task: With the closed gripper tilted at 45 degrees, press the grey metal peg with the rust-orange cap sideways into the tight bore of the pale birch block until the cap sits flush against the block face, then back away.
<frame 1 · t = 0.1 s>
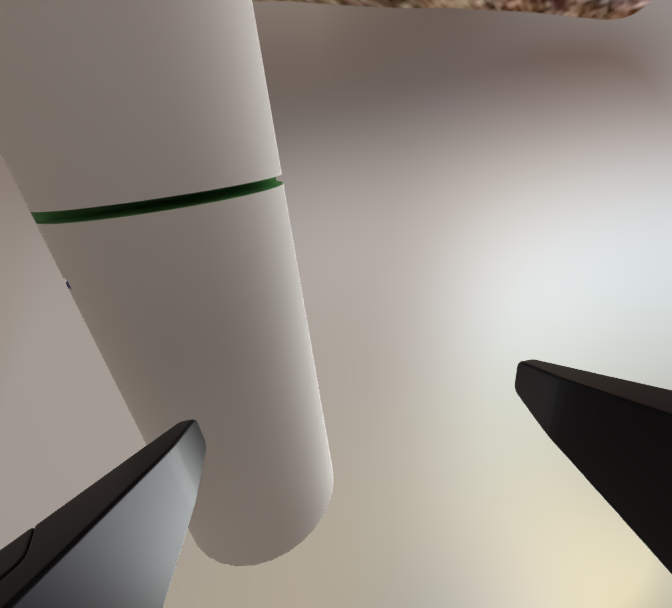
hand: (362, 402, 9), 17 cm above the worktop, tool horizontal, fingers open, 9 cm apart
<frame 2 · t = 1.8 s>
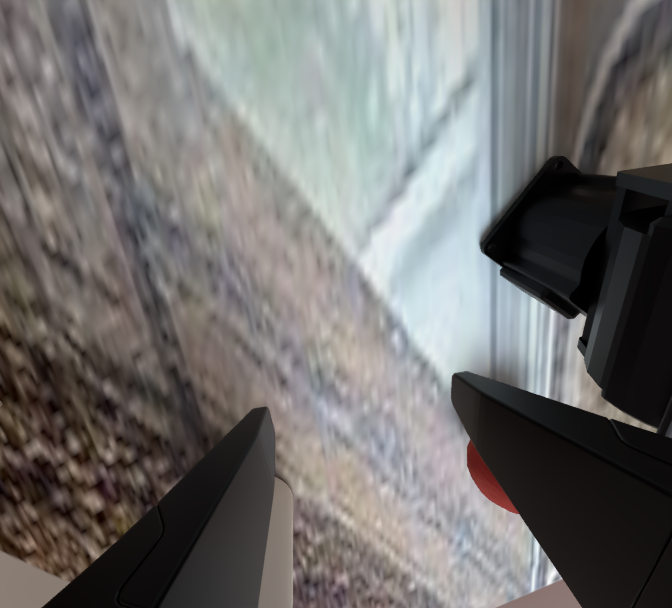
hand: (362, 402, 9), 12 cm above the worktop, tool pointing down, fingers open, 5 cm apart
onion: (482, 423, 28), on the worktop
cylindrical container: (250, 499, 28), on the worktop
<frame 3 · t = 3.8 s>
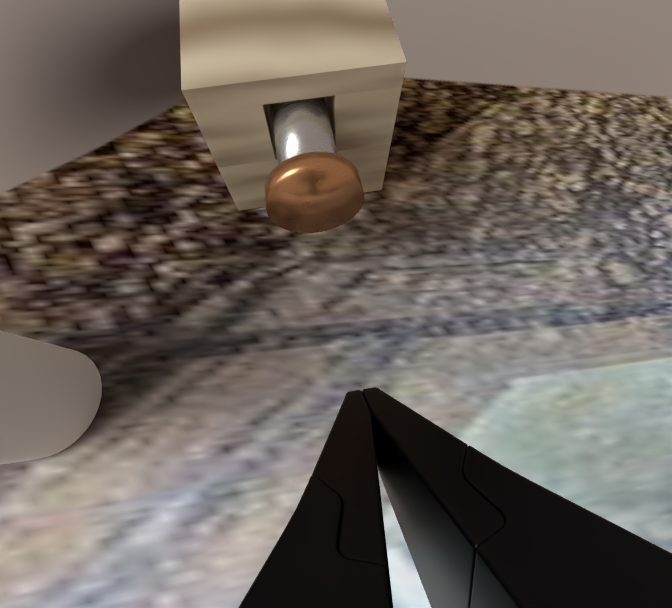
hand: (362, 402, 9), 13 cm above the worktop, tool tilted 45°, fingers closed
peg: (305, 143, 20), point 7 cm above the worktop, slide at 0.0 cm
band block: (304, 162, 29), on the worktop
cylindrical container: (50, 401, 22), on the worktop
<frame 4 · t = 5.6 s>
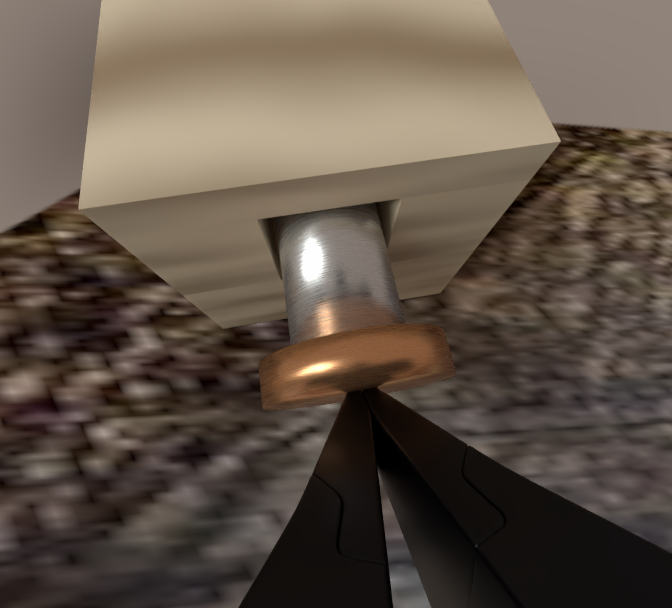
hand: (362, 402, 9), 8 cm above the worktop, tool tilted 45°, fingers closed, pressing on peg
peg: (333, 256, 11), point 7 cm above the worktop, slide at 0.7 cm, touching gripper
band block: (322, 246, 19), on the worktop
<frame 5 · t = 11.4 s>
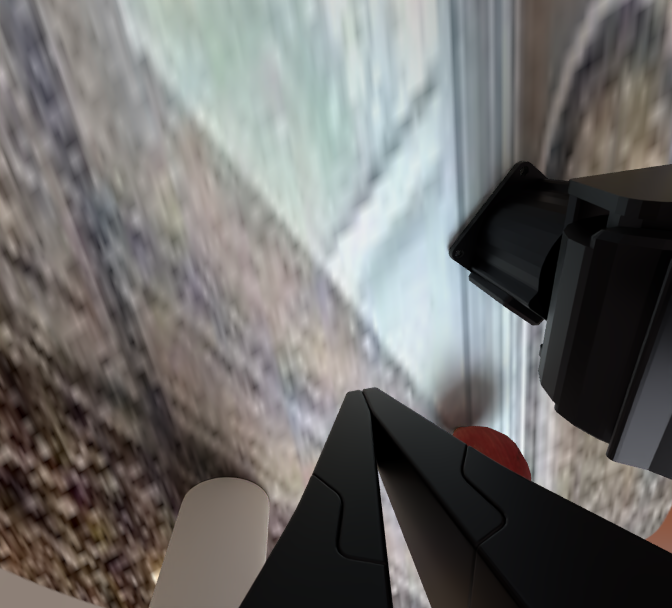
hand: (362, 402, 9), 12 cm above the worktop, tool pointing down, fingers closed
onion: (459, 428, 27), on the worktop
cylindrical container: (227, 504, 28), on the worktop
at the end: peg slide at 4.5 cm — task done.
